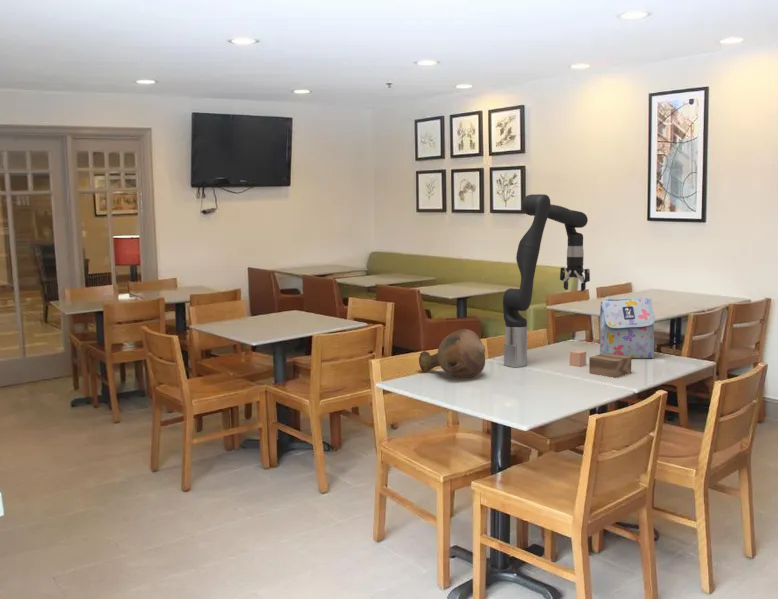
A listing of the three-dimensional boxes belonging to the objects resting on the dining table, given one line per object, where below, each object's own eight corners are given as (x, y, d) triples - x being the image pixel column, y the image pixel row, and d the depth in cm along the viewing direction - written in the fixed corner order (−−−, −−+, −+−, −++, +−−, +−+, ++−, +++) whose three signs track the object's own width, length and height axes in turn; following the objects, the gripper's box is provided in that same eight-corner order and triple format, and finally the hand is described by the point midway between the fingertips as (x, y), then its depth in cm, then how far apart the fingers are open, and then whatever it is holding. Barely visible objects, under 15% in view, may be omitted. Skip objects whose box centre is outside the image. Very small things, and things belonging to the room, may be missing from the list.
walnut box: (615, 378, 308) (615, 361, 307) (589, 374, 317) (589, 357, 316) (631, 373, 316) (631, 356, 315) (605, 369, 325) (605, 352, 324)
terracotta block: (579, 367, 329) (579, 353, 328) (569, 365, 332) (569, 351, 331) (586, 365, 332) (586, 351, 331) (576, 363, 336) (576, 350, 335)
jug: (497, 376, 315) (439, 379, 334) (495, 328, 317) (437, 334, 337) (469, 376, 299) (409, 378, 319) (467, 325, 302) (408, 331, 321)
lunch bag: (603, 360, 340) (604, 301, 336) (596, 352, 357) (597, 296, 353) (656, 360, 338) (657, 300, 335) (646, 352, 355) (647, 295, 351)
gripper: (557, 255, 360) (556, 290, 362) (585, 256, 351) (584, 292, 353) (565, 254, 366) (565, 288, 368) (593, 255, 356) (592, 290, 358)
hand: (574, 290), depth 360 cm, fingers open, 8 cm apart
